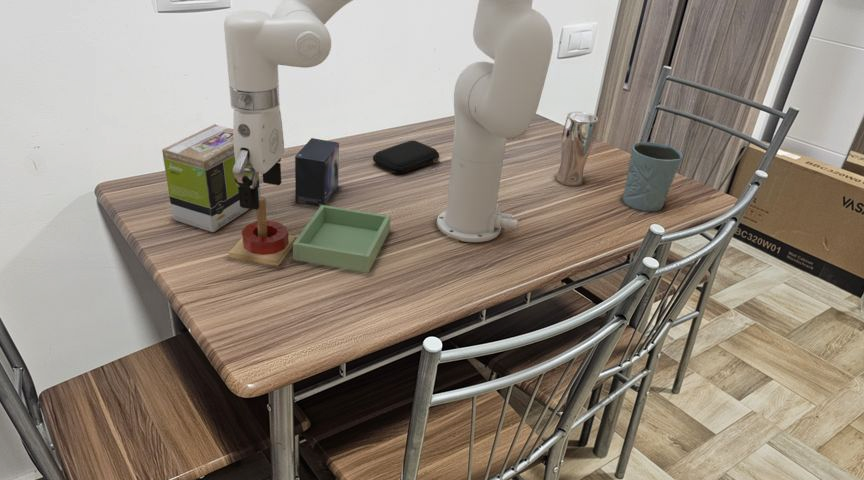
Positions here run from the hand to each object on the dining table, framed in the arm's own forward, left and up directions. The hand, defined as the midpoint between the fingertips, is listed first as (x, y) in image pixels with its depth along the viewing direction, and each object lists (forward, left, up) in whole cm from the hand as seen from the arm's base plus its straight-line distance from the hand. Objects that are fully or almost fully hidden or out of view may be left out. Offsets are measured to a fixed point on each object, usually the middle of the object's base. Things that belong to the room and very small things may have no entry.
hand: (261, 195), depth 116 cm
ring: (0, 0, -10) cm, 10 cm away
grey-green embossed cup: (-69, -45, -11) cm, 83 cm away
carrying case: (-16, -47, -11) cm, 51 cm away
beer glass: (-53, -51, -11) cm, 74 cm away
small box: (-2, -24, -11) cm, 26 cm away
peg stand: (0, 0, -11) cm, 11 cm away
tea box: (+14, -11, -11) cm, 21 cm away
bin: (-13, -6, -11) cm, 18 cm away
